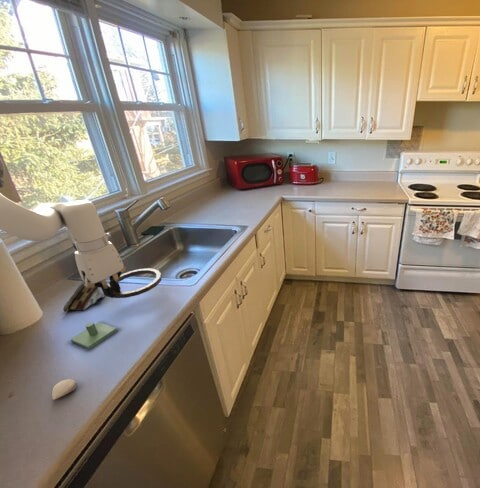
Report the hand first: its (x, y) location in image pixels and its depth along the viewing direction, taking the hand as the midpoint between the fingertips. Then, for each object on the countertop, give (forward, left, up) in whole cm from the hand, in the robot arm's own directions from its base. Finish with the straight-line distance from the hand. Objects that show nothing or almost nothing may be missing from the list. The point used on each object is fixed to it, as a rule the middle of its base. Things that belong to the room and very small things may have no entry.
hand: (113, 294), depth 90 cm
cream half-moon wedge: (+16, -25, -8) cm, 31 cm away
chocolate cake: (-16, 0, -8) cm, 18 cm away
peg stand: (+3, -10, -8) cm, 13 cm away
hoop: (0, +7, -1) cm, 7 cm away
